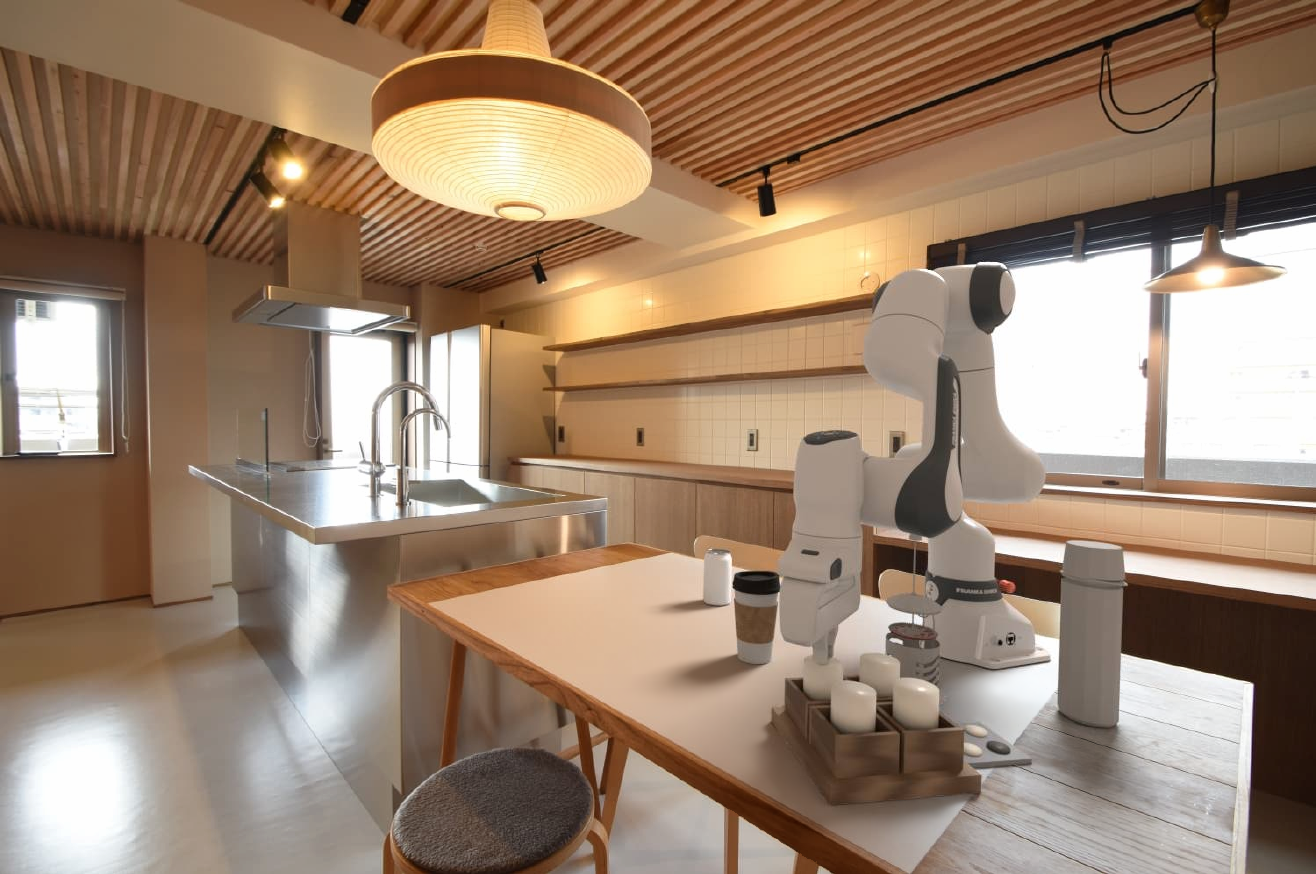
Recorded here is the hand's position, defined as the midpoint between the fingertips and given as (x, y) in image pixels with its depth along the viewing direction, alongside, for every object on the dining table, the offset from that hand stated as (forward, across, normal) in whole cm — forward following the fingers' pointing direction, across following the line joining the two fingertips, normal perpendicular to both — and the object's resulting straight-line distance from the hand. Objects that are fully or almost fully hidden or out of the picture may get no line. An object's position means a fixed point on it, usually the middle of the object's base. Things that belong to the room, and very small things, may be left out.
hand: (823, 660), depth 75 cm
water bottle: (+10, -31, +29) cm, 43 cm away
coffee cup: (+10, -19, -19) cm, 29 cm away
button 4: (+5, 0, +11) cm, 12 cm away
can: (+10, -44, -41) cm, 61 cm away
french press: (+10, -24, +6) cm, 26 cm away
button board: (+10, 0, +6) cm, 12 cm away
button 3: (+5, -6, +6) cm, 10 cm away
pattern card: (+10, -11, +16) cm, 22 cm away
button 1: (+5, 0, 0) cm, 5 cm away
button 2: (+5, +6, +6) cm, 10 cm away
